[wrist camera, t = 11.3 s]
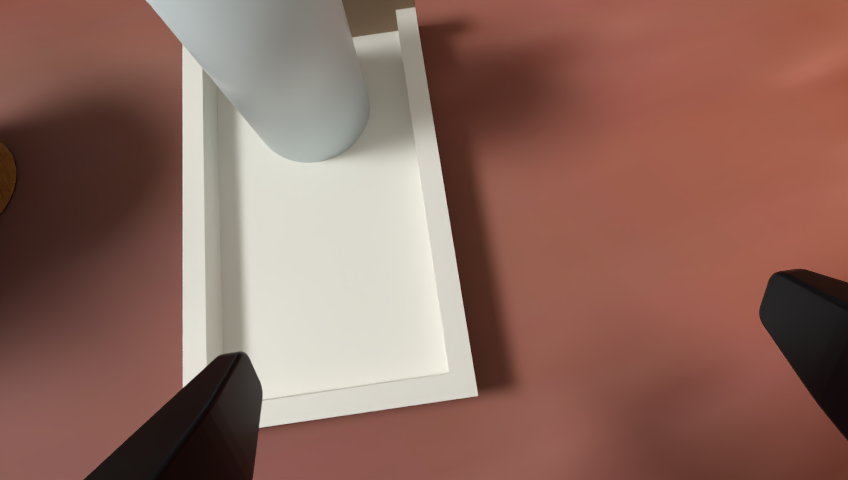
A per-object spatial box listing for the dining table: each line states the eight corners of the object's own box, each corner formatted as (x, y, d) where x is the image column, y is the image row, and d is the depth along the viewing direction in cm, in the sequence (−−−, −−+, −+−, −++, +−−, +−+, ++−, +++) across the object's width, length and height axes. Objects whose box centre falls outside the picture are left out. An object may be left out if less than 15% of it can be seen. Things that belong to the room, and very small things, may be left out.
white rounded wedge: (393, 108, 23) (336, -192, 10) (306, 185, 22) (127, -41, 9) (317, 39, 24) (184, -304, 12) (232, 110, 23) (-15, -179, 11)
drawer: (473, 390, 20) (481, 399, 16) (213, 428, 20) (160, 446, 16) (414, 25, 25) (410, -34, 21) (207, 55, 25) (165, 2, 21)
